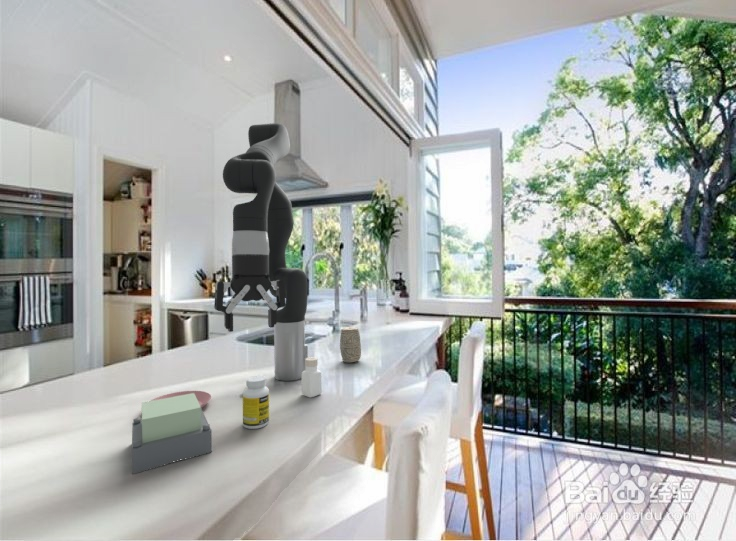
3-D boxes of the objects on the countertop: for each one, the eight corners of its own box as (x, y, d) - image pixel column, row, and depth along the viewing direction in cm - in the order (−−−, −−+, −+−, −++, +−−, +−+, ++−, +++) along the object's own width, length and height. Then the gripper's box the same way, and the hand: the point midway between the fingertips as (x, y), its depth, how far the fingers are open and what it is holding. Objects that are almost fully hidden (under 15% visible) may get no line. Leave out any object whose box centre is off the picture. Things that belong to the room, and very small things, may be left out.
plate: (167, 398, 91) (167, 390, 91) (221, 398, 90) (221, 390, 90) (127, 422, 76) (127, 413, 76) (191, 422, 76) (191, 413, 76)
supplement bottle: (261, 430, 71) (261, 383, 71) (237, 428, 73) (237, 381, 73) (273, 419, 77) (273, 375, 77) (251, 417, 78) (250, 374, 78)
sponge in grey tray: (201, 427, 73) (201, 389, 73) (211, 452, 63) (211, 408, 63) (132, 443, 67) (132, 401, 67) (132, 474, 57) (131, 425, 57)
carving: (339, 359, 126) (339, 326, 126) (360, 358, 127) (360, 326, 127) (340, 364, 120) (339, 329, 120) (361, 363, 121) (361, 329, 121)
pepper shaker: (300, 395, 91) (300, 358, 91) (313, 391, 94) (312, 356, 94) (310, 398, 89) (310, 361, 89) (322, 394, 92) (322, 358, 92)
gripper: (277, 254, 81) (278, 323, 82) (211, 253, 74) (212, 329, 74) (288, 253, 75) (289, 328, 75) (217, 252, 68) (218, 335, 68)
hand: (251, 329), depth 75 cm, fingers open, 8 cm apart
